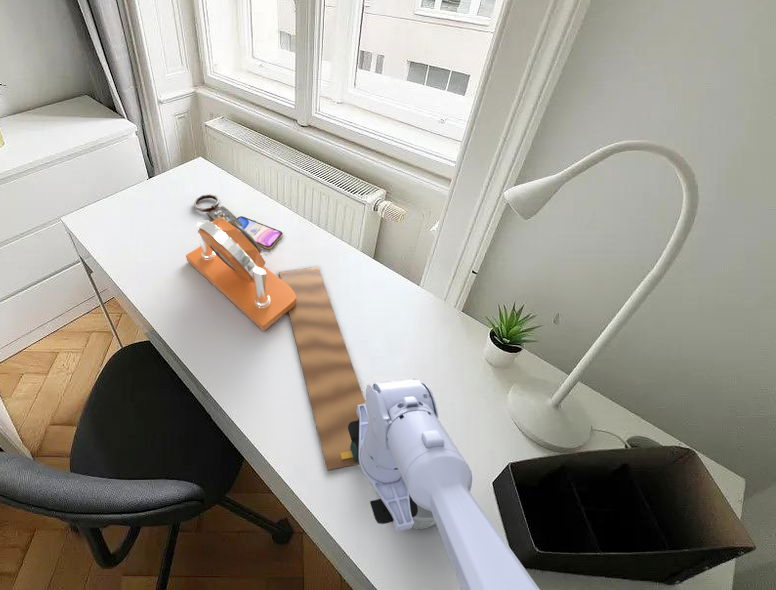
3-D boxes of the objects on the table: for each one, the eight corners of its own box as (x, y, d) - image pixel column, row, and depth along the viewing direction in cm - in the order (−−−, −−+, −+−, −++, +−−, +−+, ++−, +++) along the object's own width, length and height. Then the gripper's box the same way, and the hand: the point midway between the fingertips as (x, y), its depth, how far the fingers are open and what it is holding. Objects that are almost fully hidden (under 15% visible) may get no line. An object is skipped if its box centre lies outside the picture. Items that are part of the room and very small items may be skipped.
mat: (384, 458, 69) (384, 457, 69) (327, 470, 68) (327, 469, 68) (317, 267, 103) (317, 266, 103) (279, 273, 102) (279, 272, 102)
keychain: (221, 237, 113) (220, 231, 111) (190, 204, 125) (189, 199, 124) (244, 225, 116) (244, 220, 115) (212, 194, 128) (211, 189, 127)
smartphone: (269, 251, 108) (269, 248, 107) (224, 232, 114) (224, 229, 114) (284, 234, 113) (284, 231, 112) (240, 217, 119) (240, 214, 119)
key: (369, 443, 71) (372, 433, 68) (374, 458, 69) (378, 448, 66) (338, 449, 70) (340, 439, 67) (342, 464, 68) (344, 455, 66)
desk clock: (261, 333, 88) (254, 271, 75) (185, 262, 106) (169, 202, 93) (301, 301, 94) (300, 238, 82) (223, 239, 112) (212, 179, 99)
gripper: (447, 506, 45) (422, 539, 53) (395, 383, 56) (381, 426, 65) (386, 519, 44) (371, 551, 53) (346, 392, 55) (338, 435, 64)
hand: (373, 483), depth 59 cm, fingers open, 7 cm apart
